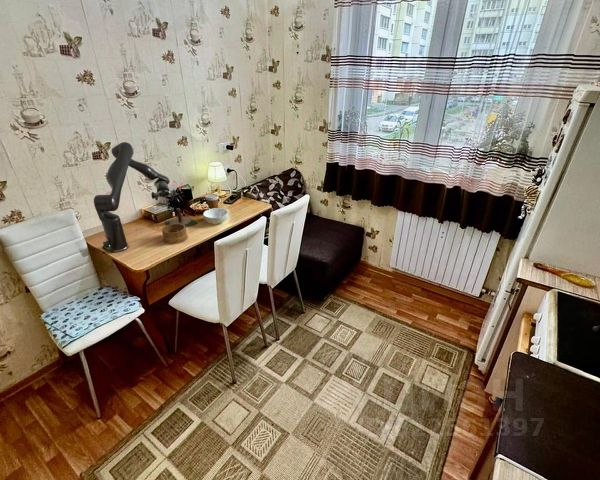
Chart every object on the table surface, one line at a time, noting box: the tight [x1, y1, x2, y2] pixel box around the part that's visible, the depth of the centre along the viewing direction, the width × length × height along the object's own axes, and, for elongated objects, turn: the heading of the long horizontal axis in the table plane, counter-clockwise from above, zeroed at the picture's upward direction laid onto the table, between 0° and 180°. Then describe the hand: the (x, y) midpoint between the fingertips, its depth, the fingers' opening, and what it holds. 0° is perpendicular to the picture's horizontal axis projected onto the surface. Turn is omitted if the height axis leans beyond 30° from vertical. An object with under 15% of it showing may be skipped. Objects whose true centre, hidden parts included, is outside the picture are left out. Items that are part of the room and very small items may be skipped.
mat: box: [164, 215, 198, 228], centre depth 212 cm, size 16×16×1 cm
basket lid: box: [169, 207, 193, 225], centre depth 210 cm, size 15×15×10 cm
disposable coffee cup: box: [205, 193, 220, 209], centre depth 230 cm, size 10×10×12 cm
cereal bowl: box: [202, 207, 229, 225], centre depth 214 cm, size 17×17×7 cm
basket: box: [161, 223, 188, 245], centre depth 191 cm, size 14×14×8 cm
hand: (164, 198), depth 188 cm, fingers open, 8 cm apart
